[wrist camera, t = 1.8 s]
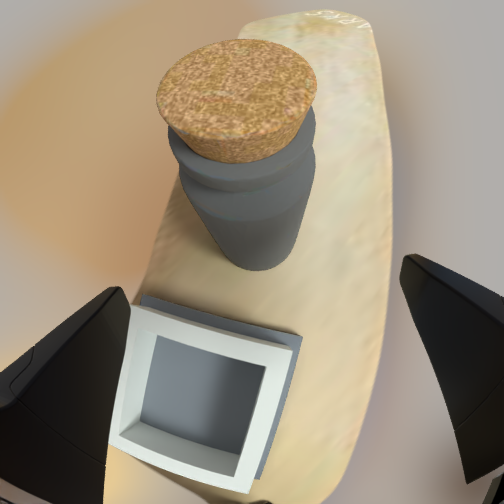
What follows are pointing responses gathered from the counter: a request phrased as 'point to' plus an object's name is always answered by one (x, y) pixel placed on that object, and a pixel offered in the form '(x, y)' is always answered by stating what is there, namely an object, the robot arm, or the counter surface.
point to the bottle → (244, 144)
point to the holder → (201, 393)
